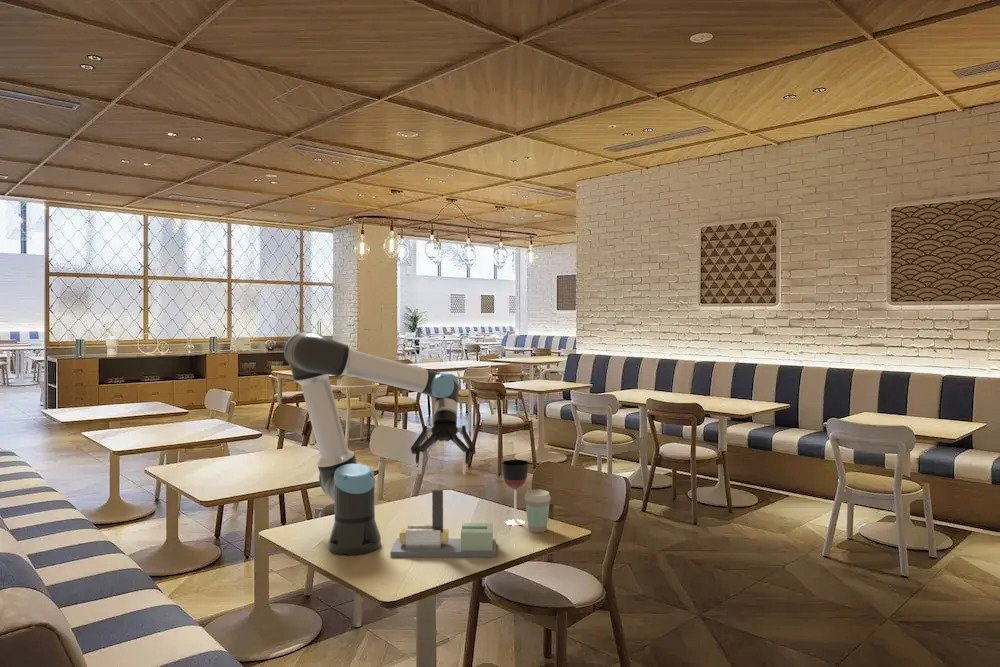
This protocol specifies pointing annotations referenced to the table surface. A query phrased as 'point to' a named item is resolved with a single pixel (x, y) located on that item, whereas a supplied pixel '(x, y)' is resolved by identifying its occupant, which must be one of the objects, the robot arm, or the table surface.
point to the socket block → (477, 537)
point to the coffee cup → (537, 509)
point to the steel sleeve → (423, 537)
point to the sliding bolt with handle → (433, 518)
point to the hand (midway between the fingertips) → (441, 472)
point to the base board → (439, 550)
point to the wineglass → (515, 481)
